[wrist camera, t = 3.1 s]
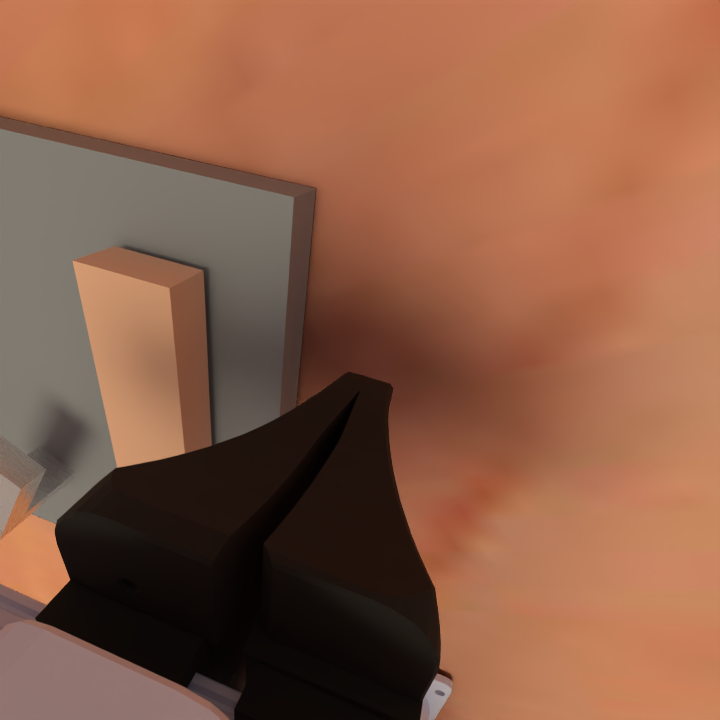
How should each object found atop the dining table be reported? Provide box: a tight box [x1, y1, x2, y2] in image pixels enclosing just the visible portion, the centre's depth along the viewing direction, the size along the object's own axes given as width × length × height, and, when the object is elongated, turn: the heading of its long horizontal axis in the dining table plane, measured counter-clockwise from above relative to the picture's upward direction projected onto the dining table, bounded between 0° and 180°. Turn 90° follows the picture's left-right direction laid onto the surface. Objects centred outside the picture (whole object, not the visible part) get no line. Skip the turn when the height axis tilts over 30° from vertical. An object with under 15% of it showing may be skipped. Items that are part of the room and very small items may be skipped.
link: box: [72, 246, 212, 468], centre depth 15 cm, size 15×4×4 cm, turn 171°
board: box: [0, 117, 316, 524], centre depth 18 cm, size 20×20×2 cm
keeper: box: [0, 436, 75, 540], centre depth 18 cm, size 2×5×4 cm, turn 141°
